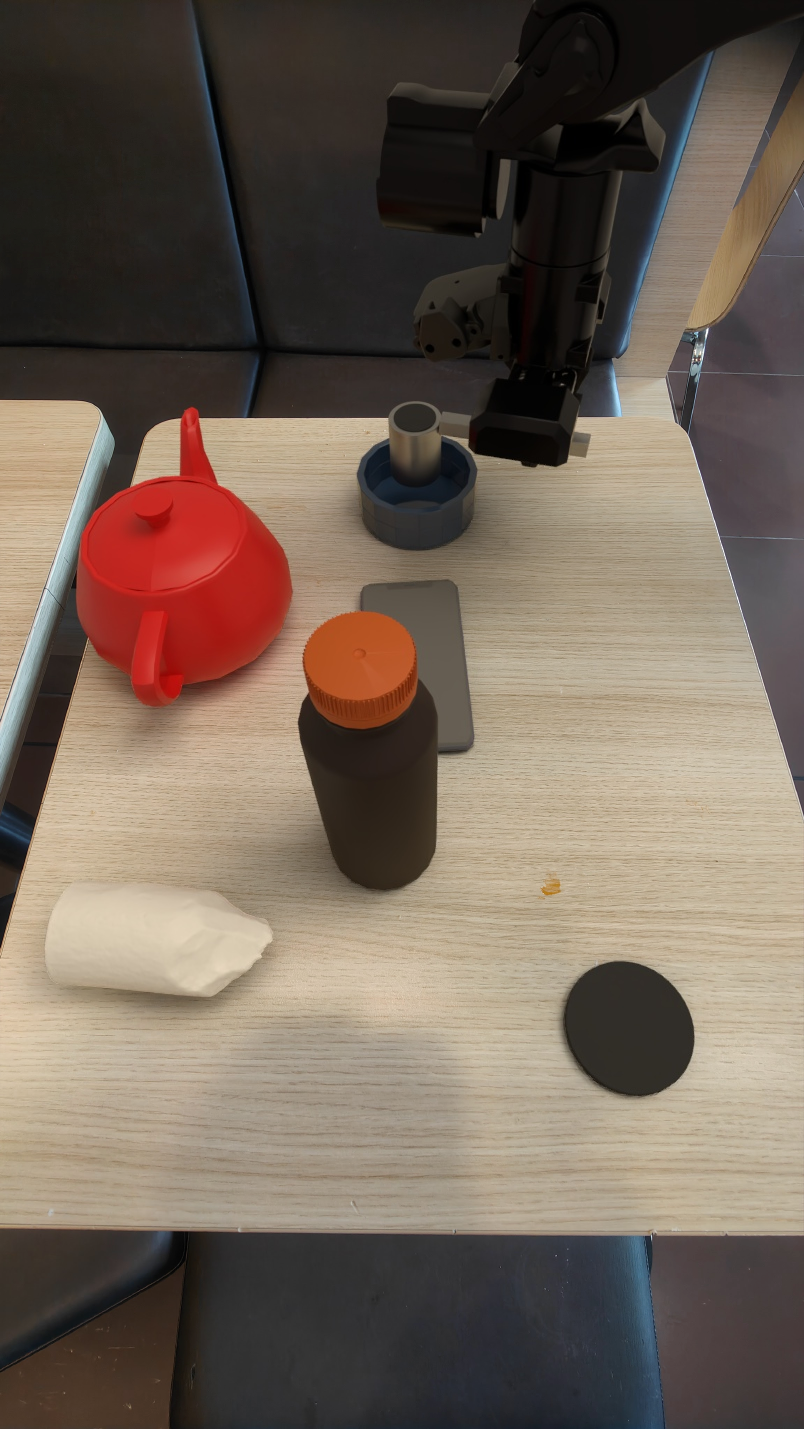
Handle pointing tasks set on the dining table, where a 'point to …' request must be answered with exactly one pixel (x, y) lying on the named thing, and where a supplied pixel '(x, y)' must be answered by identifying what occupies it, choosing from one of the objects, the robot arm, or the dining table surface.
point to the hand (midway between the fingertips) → (530, 459)
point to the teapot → (180, 578)
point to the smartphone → (432, 648)
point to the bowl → (418, 499)
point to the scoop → (433, 441)
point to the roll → (150, 938)
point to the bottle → (371, 748)
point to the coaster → (629, 1028)
